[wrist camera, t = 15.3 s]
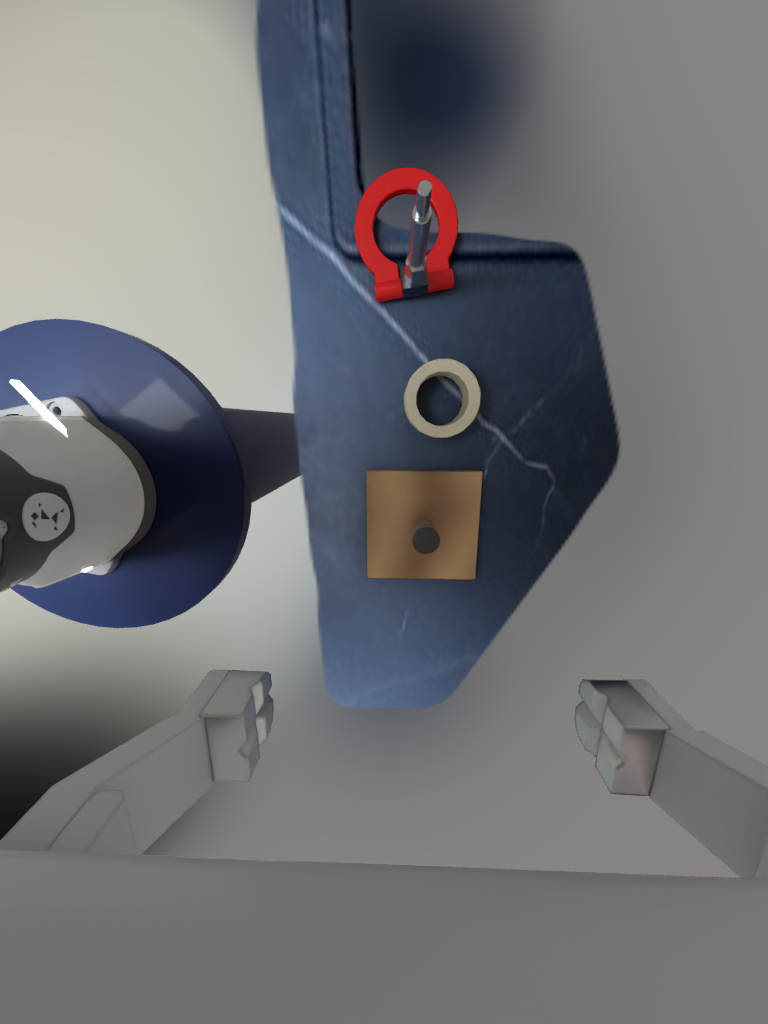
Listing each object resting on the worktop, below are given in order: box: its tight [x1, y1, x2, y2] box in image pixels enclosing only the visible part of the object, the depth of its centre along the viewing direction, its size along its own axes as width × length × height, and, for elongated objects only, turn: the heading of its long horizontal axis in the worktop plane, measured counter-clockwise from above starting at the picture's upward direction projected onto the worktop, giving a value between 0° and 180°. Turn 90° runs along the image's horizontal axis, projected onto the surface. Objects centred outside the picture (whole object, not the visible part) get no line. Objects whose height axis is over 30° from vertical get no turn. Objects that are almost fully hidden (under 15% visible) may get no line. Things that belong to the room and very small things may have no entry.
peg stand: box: [366, 470, 482, 579], centre depth 34 cm, size 11×11×5 cm
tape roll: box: [404, 359, 481, 438], centre depth 32 cm, size 6×6×3 cm
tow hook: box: [355, 167, 458, 302], centre depth 24 cm, size 8×13×9 cm
